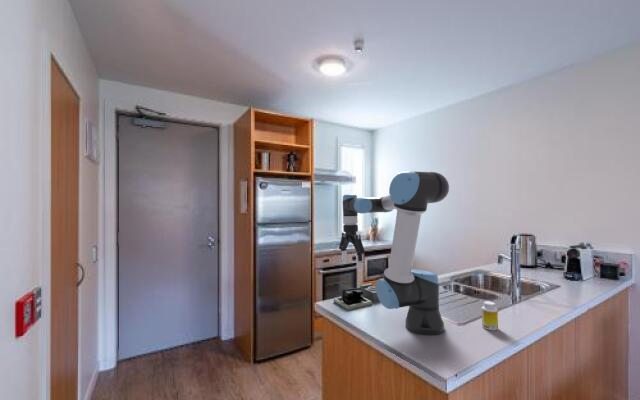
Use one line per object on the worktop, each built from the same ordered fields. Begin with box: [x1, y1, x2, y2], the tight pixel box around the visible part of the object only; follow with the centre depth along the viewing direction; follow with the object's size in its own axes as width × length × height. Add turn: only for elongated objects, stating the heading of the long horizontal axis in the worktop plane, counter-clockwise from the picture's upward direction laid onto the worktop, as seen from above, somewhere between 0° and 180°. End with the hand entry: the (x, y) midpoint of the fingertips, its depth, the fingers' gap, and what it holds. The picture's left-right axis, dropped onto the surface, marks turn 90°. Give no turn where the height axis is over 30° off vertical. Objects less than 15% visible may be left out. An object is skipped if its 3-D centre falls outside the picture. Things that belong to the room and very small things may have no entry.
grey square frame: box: [333, 296, 373, 312], centre depth 148 cm, size 14×14×2 cm
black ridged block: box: [340, 287, 364, 305], centre depth 148 cm, size 10×7×7 cm
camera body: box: [359, 282, 380, 303], centre depth 156 cm, size 12×7×6 cm, turn 28°
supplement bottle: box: [481, 300, 499, 331], centre depth 117 cm, size 6×6×10 cm
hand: (351, 265), depth 148 cm, fingers open, 13 cm apart
